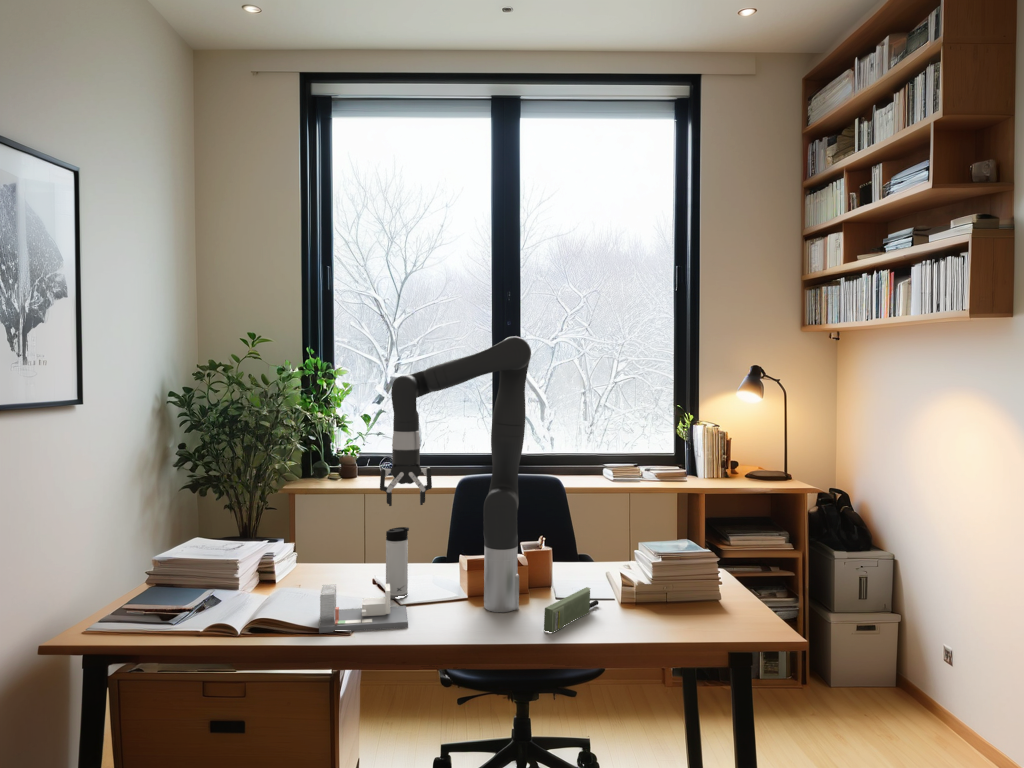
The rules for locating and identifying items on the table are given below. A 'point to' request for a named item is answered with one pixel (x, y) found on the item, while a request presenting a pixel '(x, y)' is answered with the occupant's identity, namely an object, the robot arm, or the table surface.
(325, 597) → the grey block
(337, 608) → the drag pointer
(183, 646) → the table surface
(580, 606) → the handheld radio
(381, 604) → the white block
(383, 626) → the gauge base
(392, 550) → the travel mug
